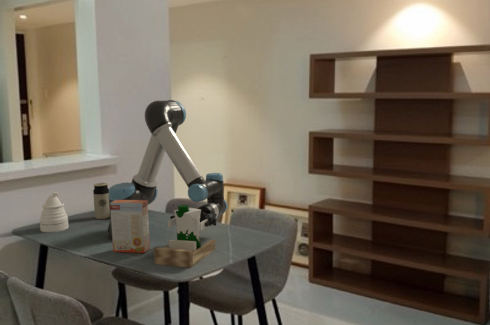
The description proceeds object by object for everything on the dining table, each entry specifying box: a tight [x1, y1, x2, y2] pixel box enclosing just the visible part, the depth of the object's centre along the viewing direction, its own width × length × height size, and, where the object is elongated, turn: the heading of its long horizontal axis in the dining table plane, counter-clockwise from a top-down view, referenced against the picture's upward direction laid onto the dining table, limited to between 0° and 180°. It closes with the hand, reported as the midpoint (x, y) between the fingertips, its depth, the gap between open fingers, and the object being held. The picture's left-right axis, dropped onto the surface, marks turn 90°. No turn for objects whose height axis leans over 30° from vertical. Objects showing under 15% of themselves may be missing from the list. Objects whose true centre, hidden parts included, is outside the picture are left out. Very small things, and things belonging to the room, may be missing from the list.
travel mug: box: [92, 182, 110, 220], centre depth 261 cm, size 8×8×18 cm
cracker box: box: [110, 200, 151, 254], centre depth 202 cm, size 14×6×21 cm, turn 77°
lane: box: [153, 239, 216, 269], centre depth 194 cm, size 15×23×6 cm, turn 160°
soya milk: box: [173, 204, 202, 250], centre depth 195 cm, size 9×9×20 cm
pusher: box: [168, 239, 196, 253], centre depth 191 cm, size 11×2×7 cm, turn 70°
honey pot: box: [39, 191, 69, 233], centre depth 241 cm, size 13×13×18 cm
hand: (184, 225), depth 192 cm, fingers open, 13 cm apart
